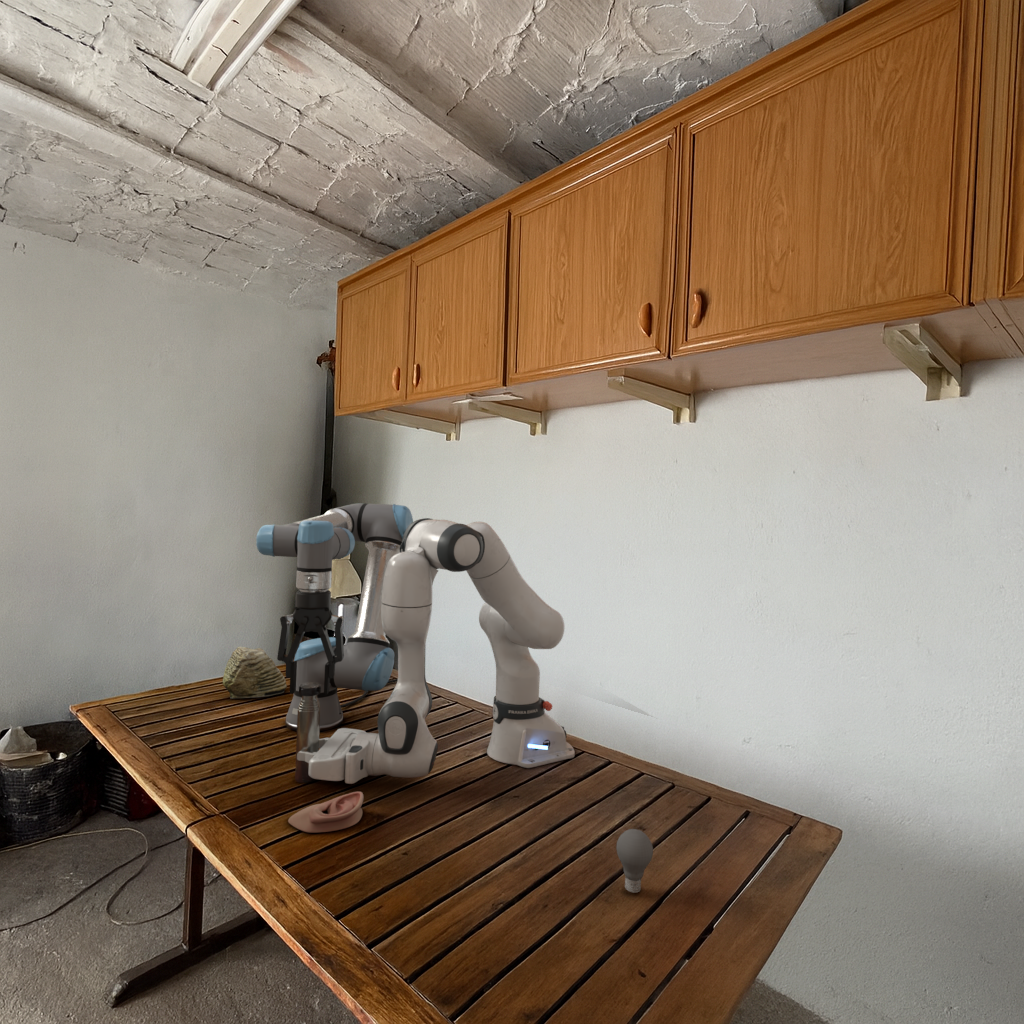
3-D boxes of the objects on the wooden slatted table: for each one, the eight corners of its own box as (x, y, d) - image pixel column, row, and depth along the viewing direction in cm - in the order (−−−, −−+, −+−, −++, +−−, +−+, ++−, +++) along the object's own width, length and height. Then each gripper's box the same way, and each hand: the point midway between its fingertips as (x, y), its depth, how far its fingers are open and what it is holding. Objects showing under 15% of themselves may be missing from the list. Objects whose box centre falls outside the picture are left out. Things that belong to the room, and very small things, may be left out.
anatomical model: (280, 807, 120) (311, 781, 131) (279, 828, 120) (310, 800, 131) (344, 817, 117) (370, 790, 129) (343, 838, 118) (370, 809, 129)
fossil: (218, 695, 195) (220, 647, 195) (278, 685, 208) (279, 640, 207) (228, 703, 189) (230, 653, 188) (289, 692, 201) (290, 645, 201)
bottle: (292, 775, 143) (296, 686, 143) (314, 771, 146) (318, 684, 145) (297, 784, 139) (301, 692, 138) (320, 780, 141) (323, 689, 141)
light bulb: (610, 879, 108) (613, 822, 108) (644, 879, 109) (647, 822, 109) (619, 902, 102) (622, 840, 102) (655, 901, 103) (658, 840, 103)
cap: (324, 691, 143) (325, 684, 143) (311, 697, 139) (311, 689, 139) (307, 689, 145) (308, 681, 145) (294, 694, 140) (294, 686, 140)
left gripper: (263, 590, 137) (259, 696, 137) (356, 593, 139) (351, 697, 139) (272, 586, 144) (269, 686, 145) (360, 588, 146) (356, 687, 147)
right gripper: (377, 723, 152) (320, 719, 152) (351, 757, 131) (285, 753, 132) (376, 749, 152) (319, 745, 153) (349, 787, 131) (284, 783, 132)
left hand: (309, 691), depth 142 cm, fingers open, 7 cm apart
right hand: (303, 749), depth 142 cm, fingers closed on bottle, 5 cm apart
